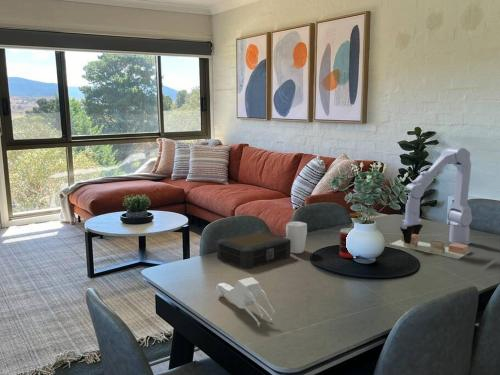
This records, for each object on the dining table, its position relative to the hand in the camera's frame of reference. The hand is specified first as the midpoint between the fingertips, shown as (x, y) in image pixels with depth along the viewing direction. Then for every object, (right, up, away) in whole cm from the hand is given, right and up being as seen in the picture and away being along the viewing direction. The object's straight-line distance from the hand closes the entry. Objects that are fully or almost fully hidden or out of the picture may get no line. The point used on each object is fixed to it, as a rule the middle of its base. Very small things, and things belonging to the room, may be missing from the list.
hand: (410, 241), depth 207 cm
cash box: (-69, -6, -12) cm, 70 cm away
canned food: (-29, -5, -10) cm, 31 cm away
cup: (-51, -4, -4) cm, 51 cm away
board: (+7, -3, -2) cm, 8 cm away
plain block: (+8, -3, -8) cm, 12 cm away
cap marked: (0, 0, 0) cm, 0 cm away
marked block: (0, -2, 0) cm, 2 cm away
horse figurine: (-73, -14, -63) cm, 97 cm away
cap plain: (+17, -3, -8) cm, 19 cm away
